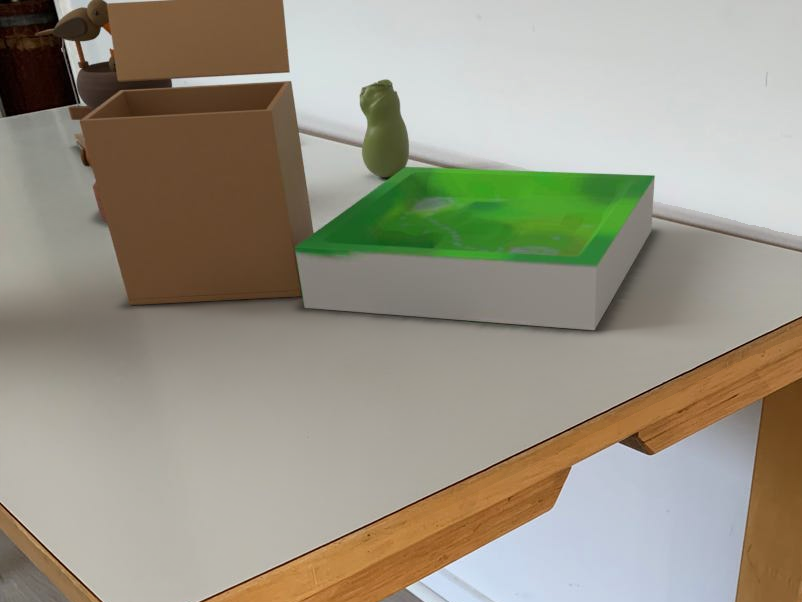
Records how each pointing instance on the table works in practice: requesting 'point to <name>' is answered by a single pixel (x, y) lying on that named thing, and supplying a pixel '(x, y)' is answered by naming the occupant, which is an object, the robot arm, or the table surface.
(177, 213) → the carton
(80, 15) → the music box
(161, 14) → the flap
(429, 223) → the green flat square box
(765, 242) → the table surface
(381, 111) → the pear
